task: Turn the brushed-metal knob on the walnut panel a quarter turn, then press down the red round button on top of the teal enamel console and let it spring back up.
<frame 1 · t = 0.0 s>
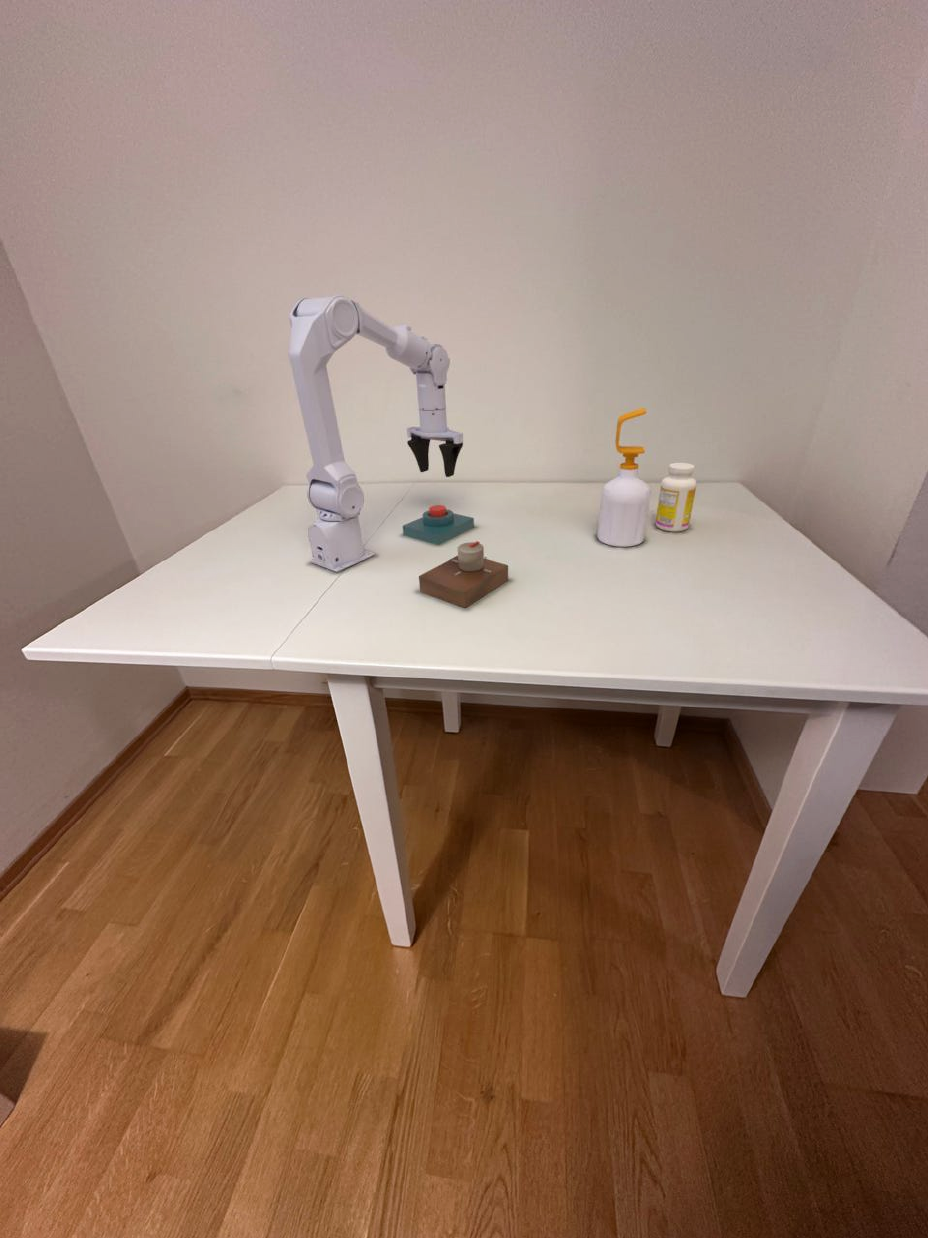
hand: (436, 473, 114), 10 cm above the table, tool pointing down, fingers open, 7 cm apart
soap bottle: (620, 539, 103), on the table
button: (437, 511, 109), point 4 cm above the table, slide at 0.1 cm
knob: (470, 555, 87), point 5 cm above the table, hinge at 0.0°
knob panel: (464, 586, 88), on the table
button console: (439, 531, 111), on the table
supplement bottle: (671, 527, 108), on the table
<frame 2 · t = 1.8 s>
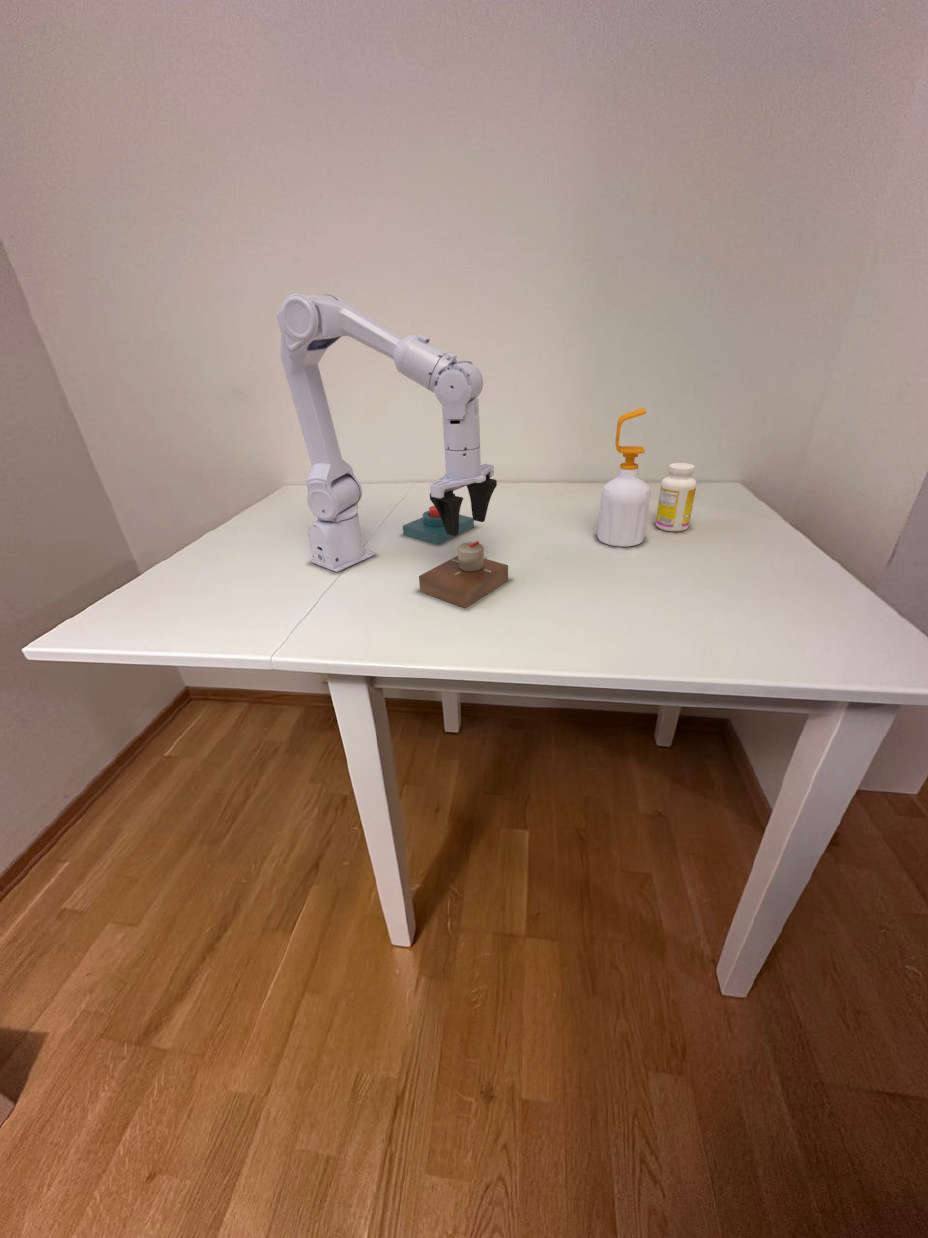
hand: (465, 527, 89), 9 cm above the table, tool pointing down, fingers open, 7 cm apart
nothing on the table moved.
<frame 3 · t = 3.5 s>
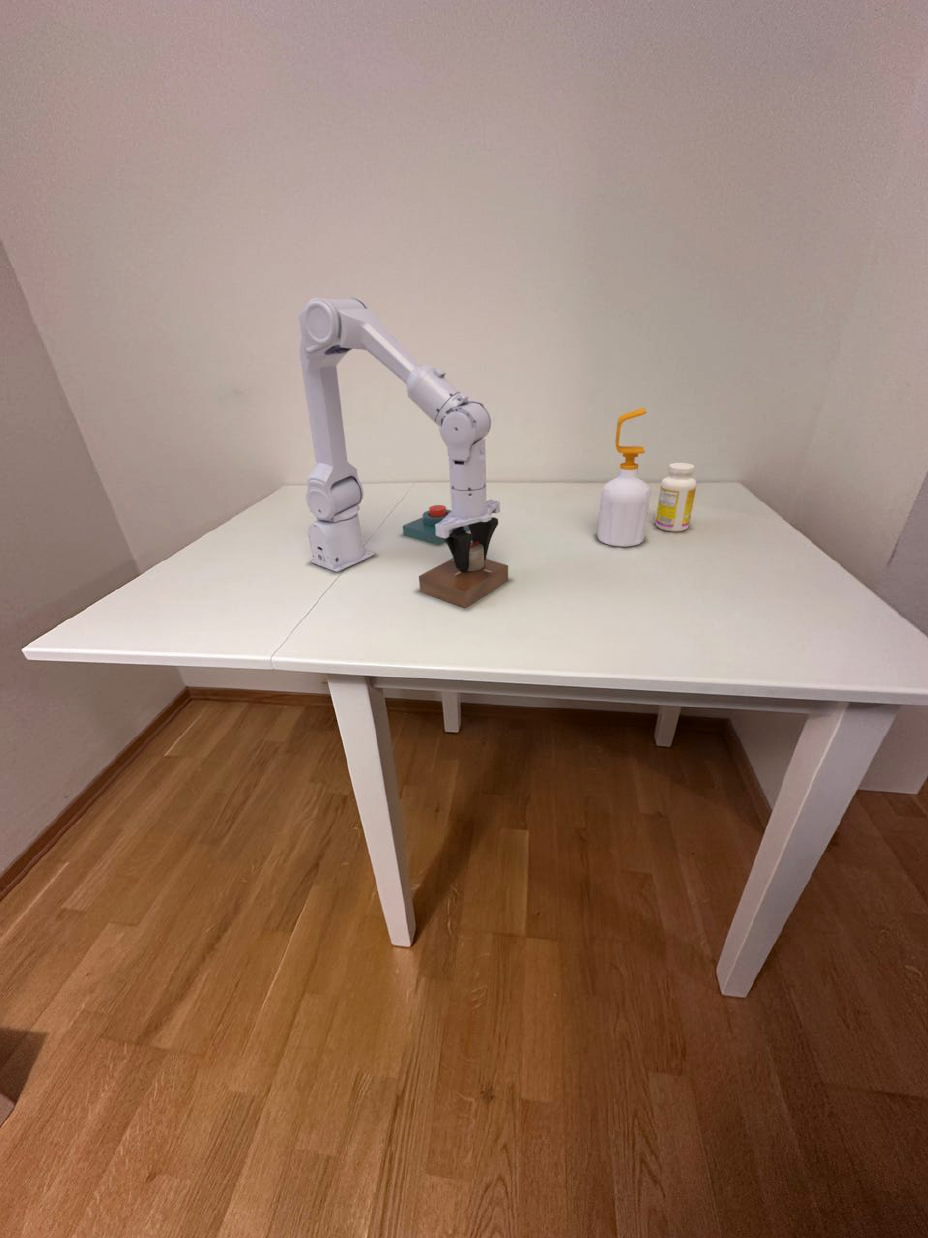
hand: (471, 563, 88), 4 cm above the table, tool pointing down, fingers closed on knob, 4 cm apart
knob: (470, 555, 87), point 5 cm above the table, hinge at -0.1°, touching gripper
everything else where it was.
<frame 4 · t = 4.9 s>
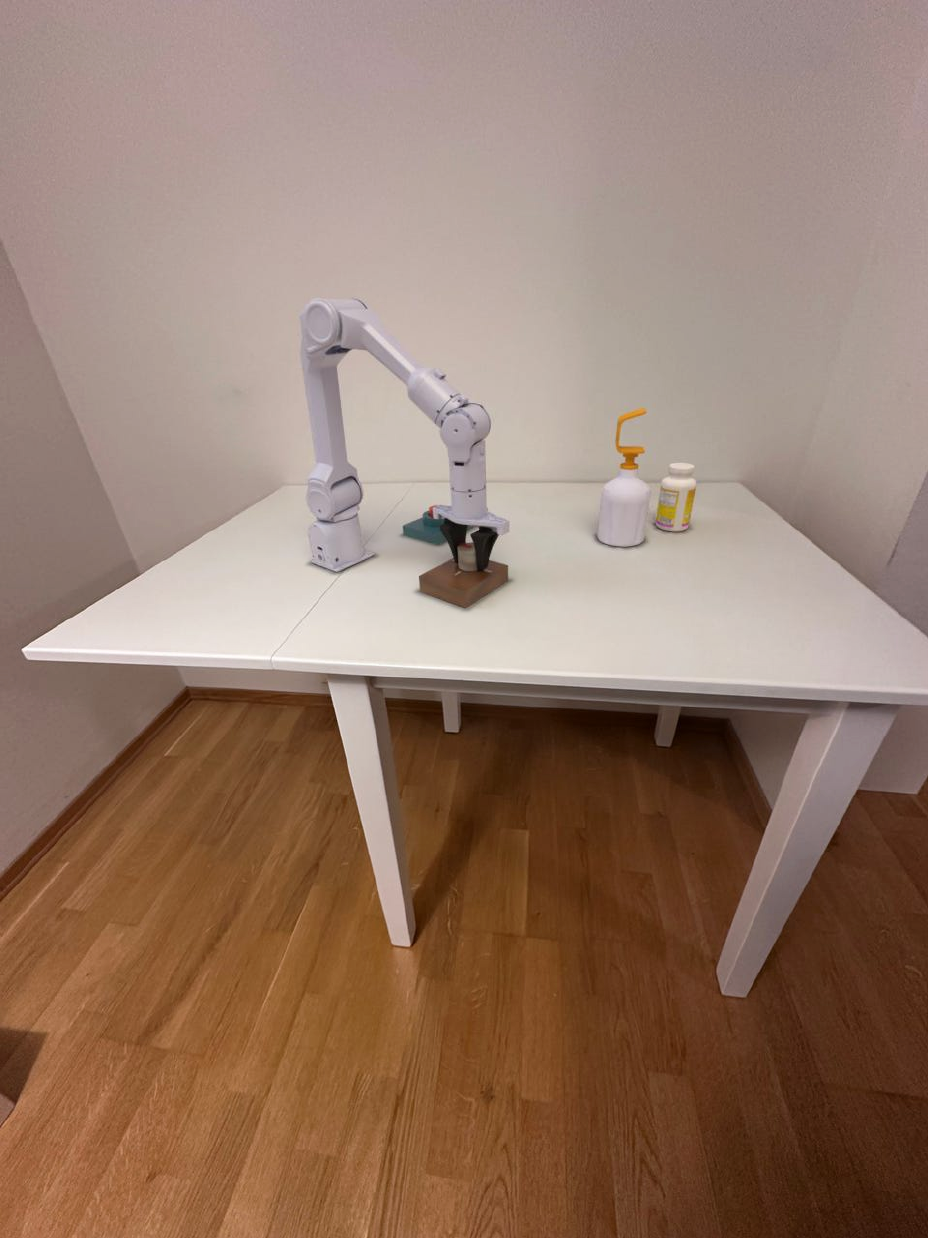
hand: (471, 564, 88), 3 cm above the table, tool pointing down, fingers closed on knob, 4 cm apart
knob: (470, 555, 87), point 5 cm above the table, hinge at 90.4°, touching gripper
everything else where it was.
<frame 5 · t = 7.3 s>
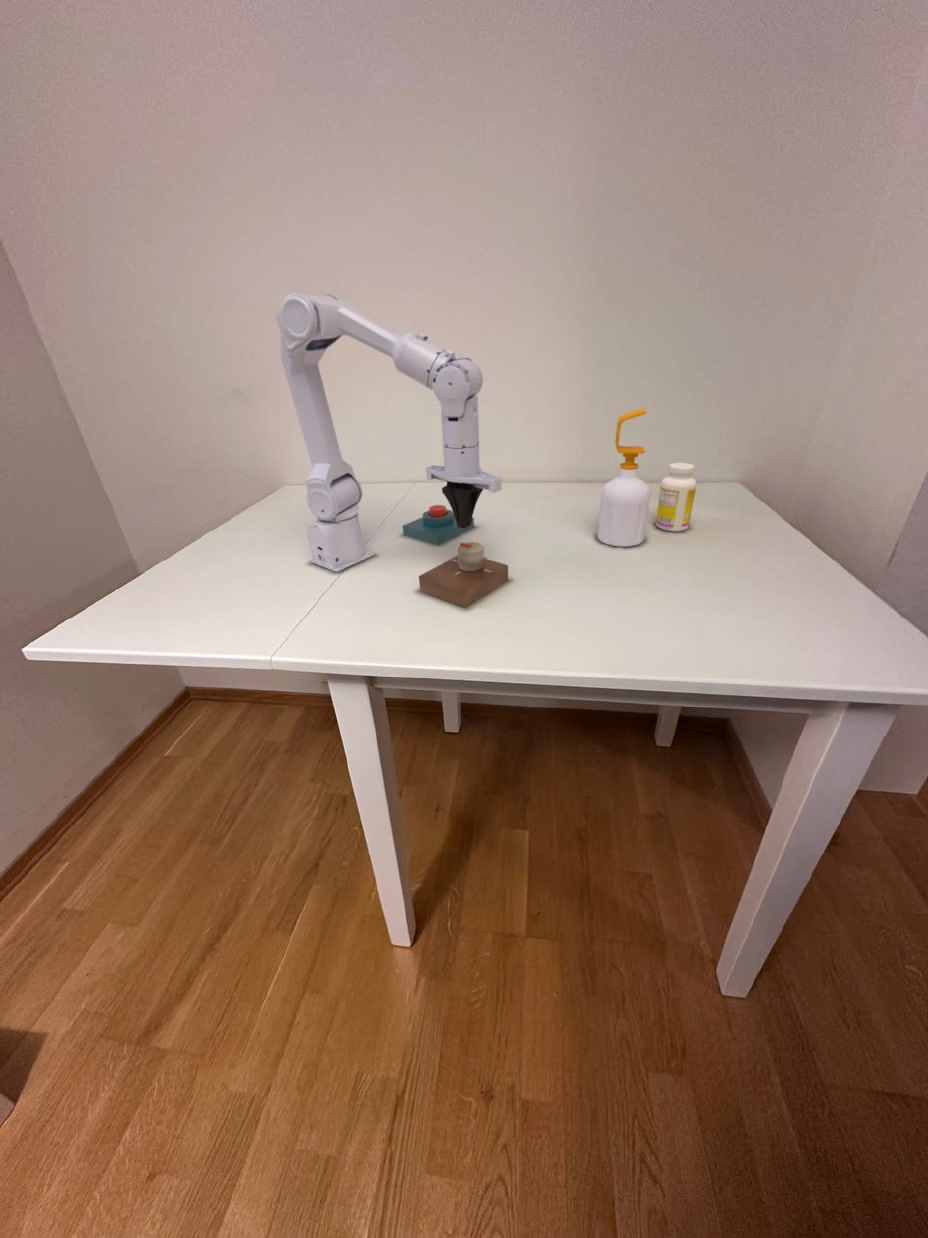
hand: (464, 526, 88), 9 cm above the table, tool pointing down, fingers closed
knob: (470, 555, 87), point 5 cm above the table, hinge at 90.5°
everything else where it was.
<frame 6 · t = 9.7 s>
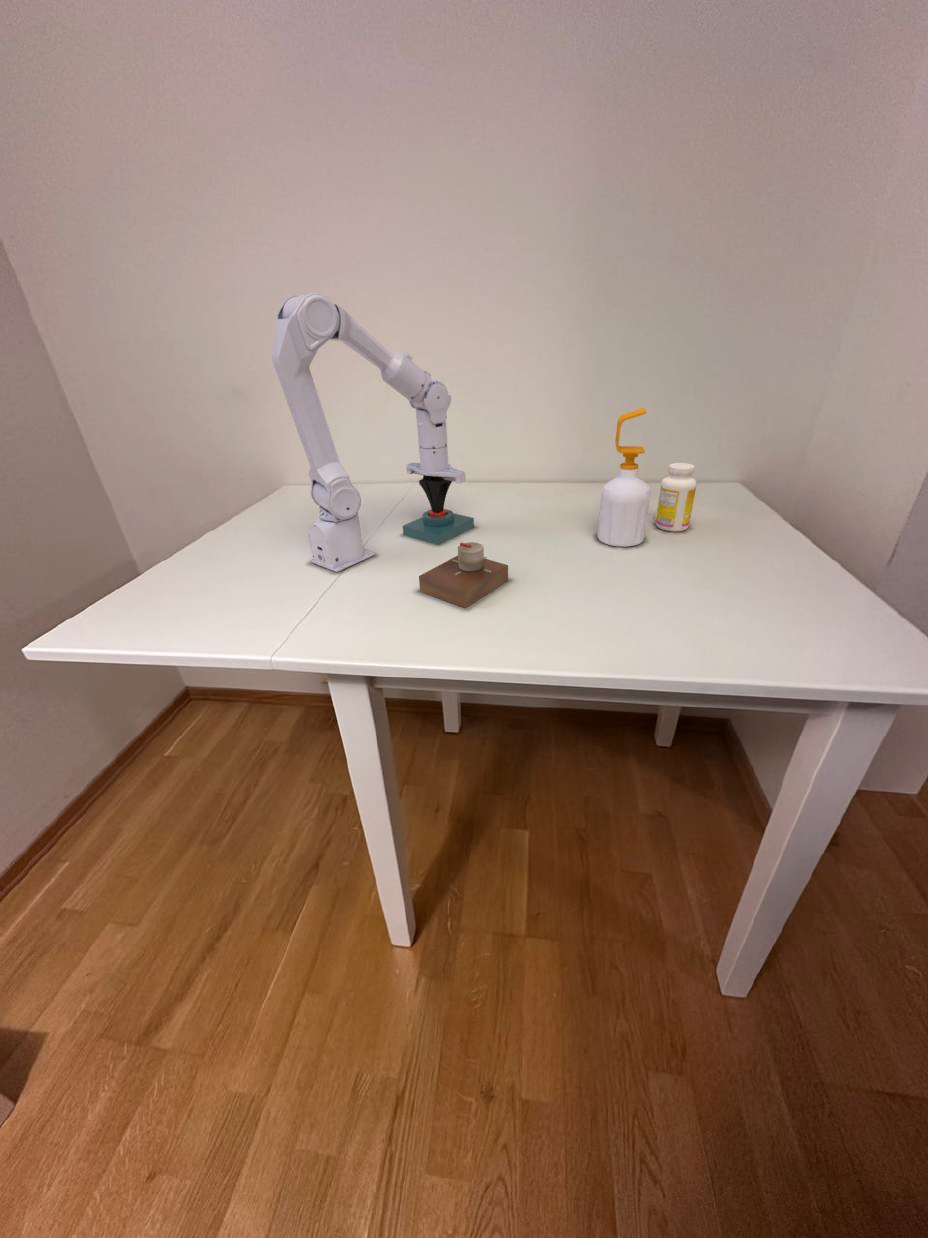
hand: (437, 511, 109), 5 cm above the table, tool pointing down, fingers closed, pressing on button
button: (438, 515, 109), point 4 cm above the table, slide at -0.7 cm, touching gripper
everything else where it was.
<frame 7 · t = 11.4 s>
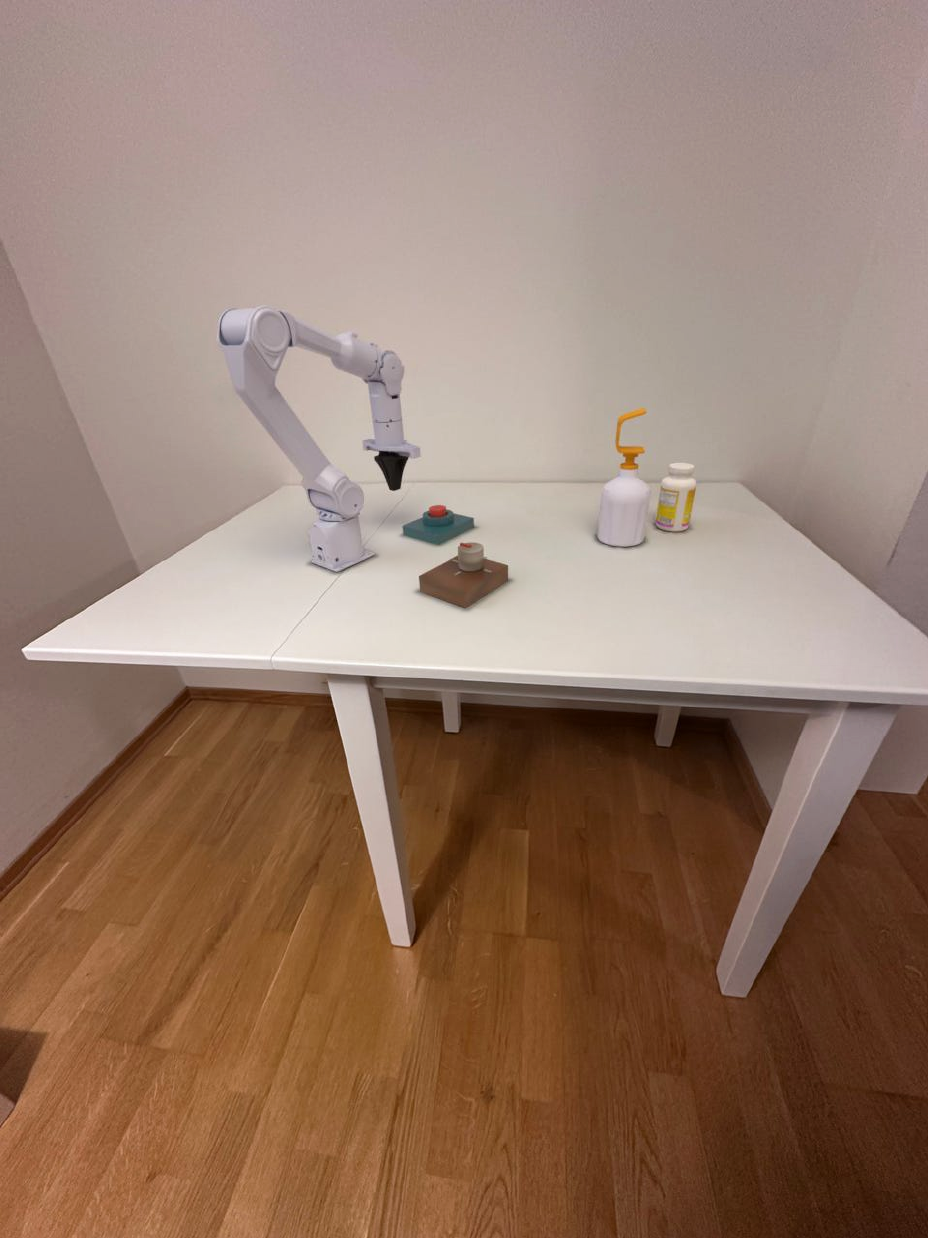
hand: (395, 489, 106), 10 cm above the table, tool pointing down, fingers closed
button: (437, 511, 109), point 4 cm above the table, slide at 0.1 cm
everything else where it was.
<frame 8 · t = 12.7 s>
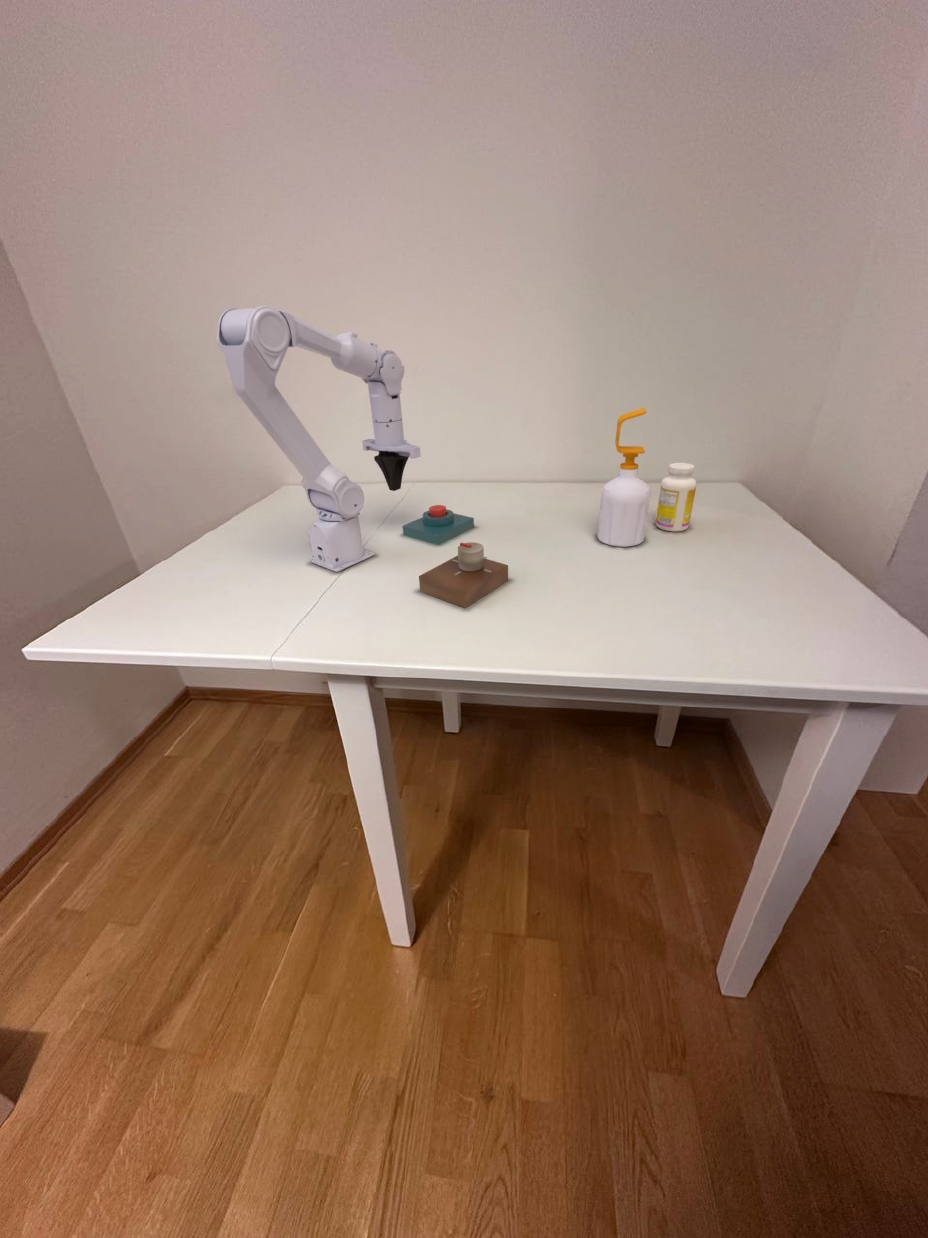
hand: (395, 489, 106), 10 cm above the table, tool pointing down, fingers closed
nothing on the table moved.
at the end: knob at +90° (first picture: +0°); button pushed in 1.2 cm at the most during the clip, back to where it started at the end; button slide at 0.1 cm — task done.
